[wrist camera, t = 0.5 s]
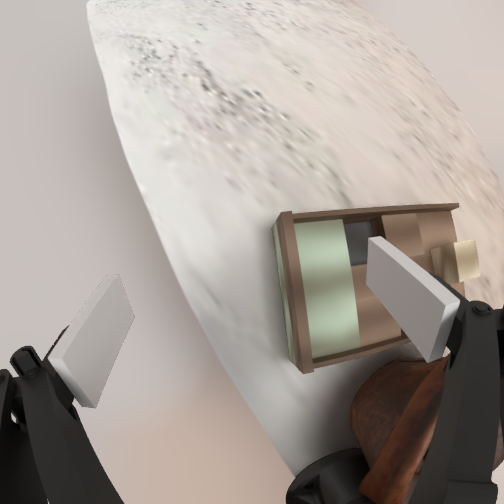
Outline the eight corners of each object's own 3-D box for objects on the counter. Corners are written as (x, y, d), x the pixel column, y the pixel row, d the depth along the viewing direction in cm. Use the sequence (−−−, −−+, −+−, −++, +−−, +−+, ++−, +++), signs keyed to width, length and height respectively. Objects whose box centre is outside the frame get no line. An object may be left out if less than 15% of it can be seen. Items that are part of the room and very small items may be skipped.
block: (457, 278, 29) (480, 275, 25) (436, 285, 29) (459, 282, 24) (452, 245, 30) (474, 239, 26) (430, 249, 30) (453, 242, 25)
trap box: (452, 314, 32) (481, 315, 26) (289, 360, 29) (303, 374, 23) (437, 213, 34) (463, 200, 28) (271, 227, 31) (281, 212, 26)
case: (295, 399, 28) (361, 490, 11) (420, 307, 31) (531, 307, 14) (349, 481, 27) (408, 555, 9) (451, 399, 30) (535, 427, 12)
